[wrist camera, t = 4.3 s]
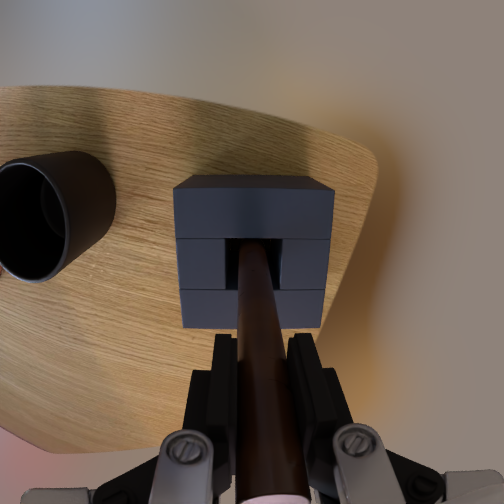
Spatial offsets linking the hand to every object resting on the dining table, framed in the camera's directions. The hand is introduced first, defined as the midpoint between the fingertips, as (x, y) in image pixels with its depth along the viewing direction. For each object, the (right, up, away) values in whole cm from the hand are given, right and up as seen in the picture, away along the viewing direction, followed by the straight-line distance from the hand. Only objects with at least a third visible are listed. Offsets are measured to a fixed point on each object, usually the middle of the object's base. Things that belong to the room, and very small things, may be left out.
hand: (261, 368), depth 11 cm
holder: (-1, +6, +17) cm, 18 cm away
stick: (0, +4, +12) cm, 13 cm away
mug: (-19, +9, +16) cm, 26 cm away
